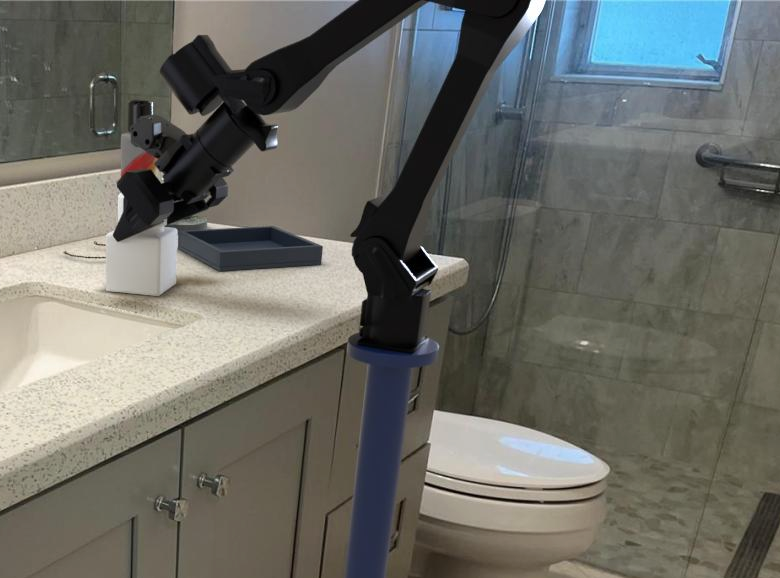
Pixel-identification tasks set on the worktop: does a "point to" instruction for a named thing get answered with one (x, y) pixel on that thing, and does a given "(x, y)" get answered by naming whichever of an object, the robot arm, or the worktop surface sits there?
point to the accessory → (85, 256)
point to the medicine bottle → (141, 259)
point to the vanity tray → (249, 248)
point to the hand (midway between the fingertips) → (132, 233)
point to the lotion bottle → (129, 153)
